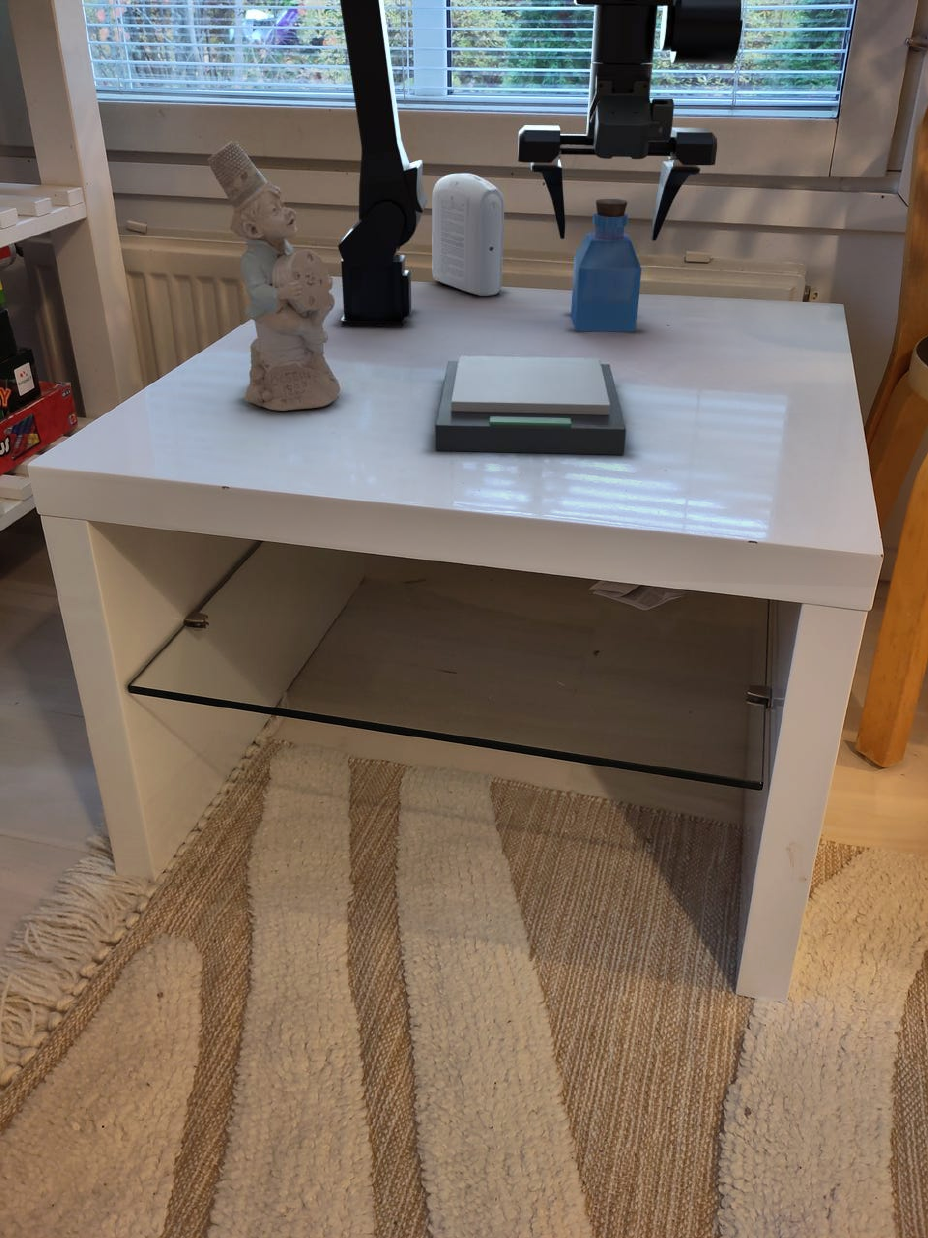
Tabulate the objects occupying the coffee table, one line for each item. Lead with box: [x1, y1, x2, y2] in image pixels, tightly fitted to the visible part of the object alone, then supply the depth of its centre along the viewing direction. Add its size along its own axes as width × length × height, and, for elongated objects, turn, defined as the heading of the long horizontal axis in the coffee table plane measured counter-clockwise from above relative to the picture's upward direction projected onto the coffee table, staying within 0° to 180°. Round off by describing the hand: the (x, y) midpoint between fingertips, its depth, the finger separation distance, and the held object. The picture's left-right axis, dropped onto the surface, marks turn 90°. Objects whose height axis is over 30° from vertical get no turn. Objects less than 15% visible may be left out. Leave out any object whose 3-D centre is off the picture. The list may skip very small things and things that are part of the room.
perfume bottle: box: [570, 198, 642, 332], centre depth 104 cm, size 6×6×12 cm
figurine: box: [207, 138, 341, 412], centre depth 80 cm, size 9×8×20 cm
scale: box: [434, 354, 627, 456], centre depth 81 cm, size 14×16×3 cm
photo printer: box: [431, 173, 505, 297], centre depth 117 cm, size 10×4×12 cm, turn 36°
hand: (607, 238), depth 102 cm, fingers open, 9 cm apart
